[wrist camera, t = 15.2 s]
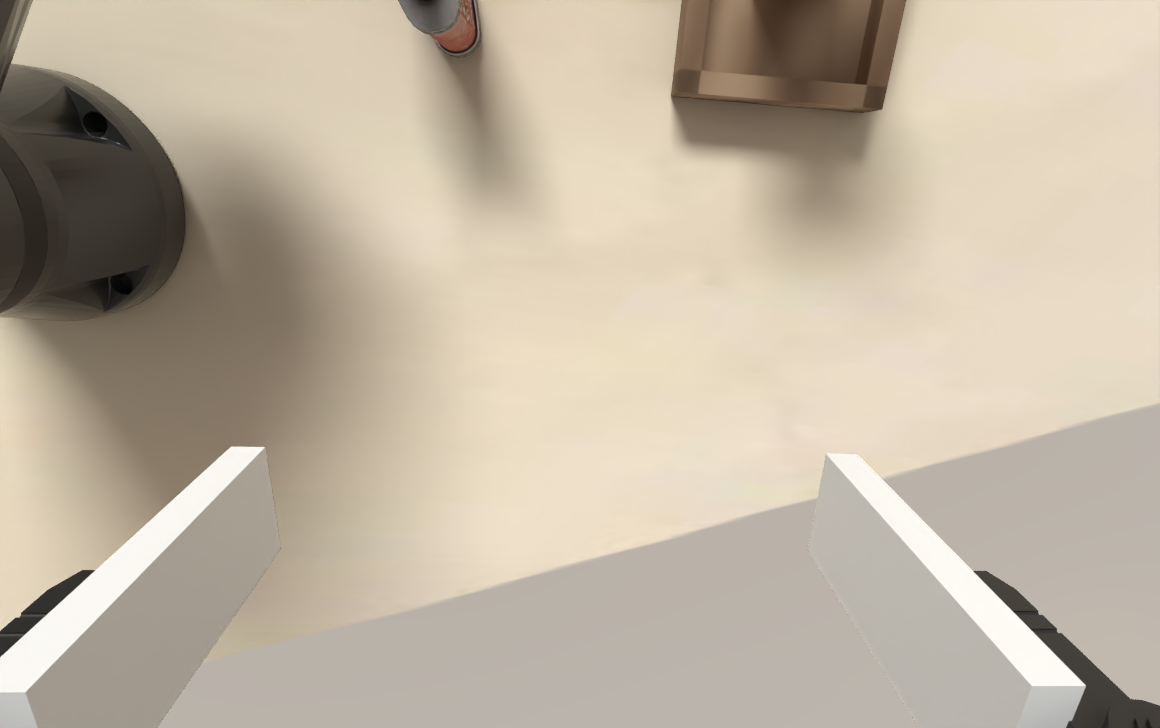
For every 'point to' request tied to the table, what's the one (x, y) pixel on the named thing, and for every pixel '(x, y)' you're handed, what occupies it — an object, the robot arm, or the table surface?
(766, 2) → the tray
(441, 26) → the lighter
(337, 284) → the table surface
